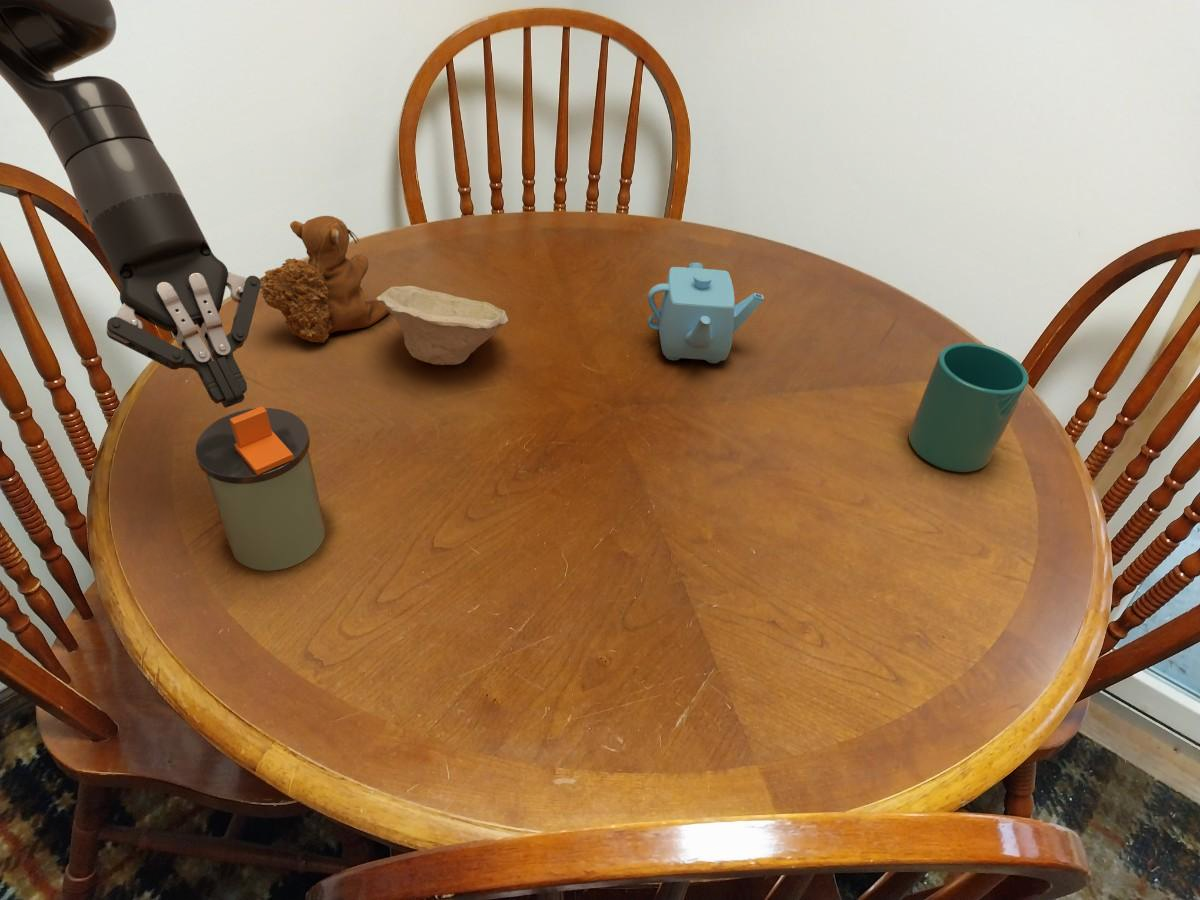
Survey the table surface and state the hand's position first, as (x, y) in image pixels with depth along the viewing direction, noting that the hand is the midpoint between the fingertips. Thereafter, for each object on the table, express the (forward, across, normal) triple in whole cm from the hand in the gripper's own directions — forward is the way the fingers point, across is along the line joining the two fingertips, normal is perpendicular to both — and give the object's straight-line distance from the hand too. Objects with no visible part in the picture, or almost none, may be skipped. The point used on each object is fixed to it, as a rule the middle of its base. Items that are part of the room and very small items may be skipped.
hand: (235, 402), depth 71 cm
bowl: (+1, +29, +20) cm, 35 cm away
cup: (+34, +65, -14) cm, 75 cm away
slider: (+5, 0, -1) cm, 5 cm away
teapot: (+13, +55, +8) cm, 57 cm away
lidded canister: (+12, 0, +9) cm, 15 cm away
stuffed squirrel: (-9, +21, +30) cm, 37 cm away
